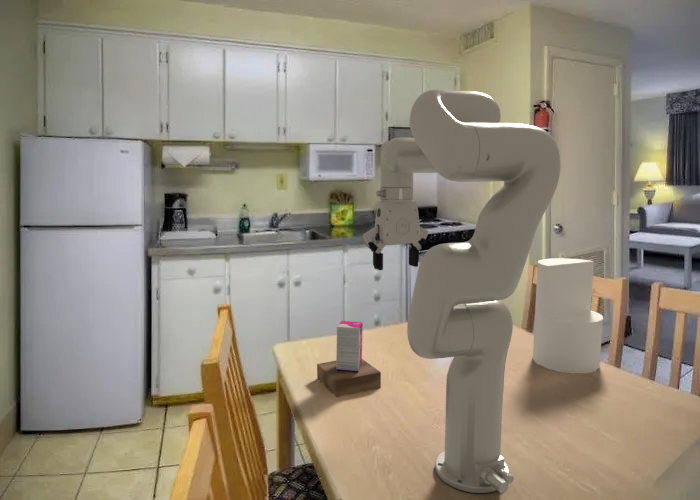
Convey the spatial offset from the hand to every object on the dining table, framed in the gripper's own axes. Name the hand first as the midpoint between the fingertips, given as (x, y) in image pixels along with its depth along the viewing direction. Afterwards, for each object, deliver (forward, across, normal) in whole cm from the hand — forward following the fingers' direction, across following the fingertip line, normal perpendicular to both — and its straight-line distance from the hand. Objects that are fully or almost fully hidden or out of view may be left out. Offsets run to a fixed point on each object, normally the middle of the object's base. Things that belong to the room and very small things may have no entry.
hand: (396, 267), depth 118 cm
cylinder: (+31, +52, -6) cm, 61 cm away
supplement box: (+26, -9, +8) cm, 29 cm away
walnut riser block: (+30, -9, +8) cm, 33 cm away
